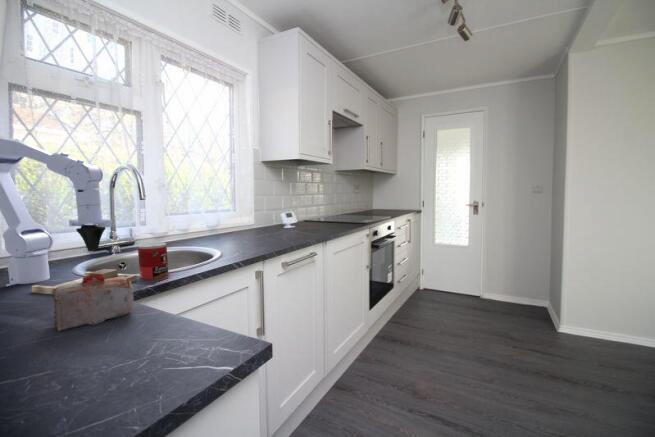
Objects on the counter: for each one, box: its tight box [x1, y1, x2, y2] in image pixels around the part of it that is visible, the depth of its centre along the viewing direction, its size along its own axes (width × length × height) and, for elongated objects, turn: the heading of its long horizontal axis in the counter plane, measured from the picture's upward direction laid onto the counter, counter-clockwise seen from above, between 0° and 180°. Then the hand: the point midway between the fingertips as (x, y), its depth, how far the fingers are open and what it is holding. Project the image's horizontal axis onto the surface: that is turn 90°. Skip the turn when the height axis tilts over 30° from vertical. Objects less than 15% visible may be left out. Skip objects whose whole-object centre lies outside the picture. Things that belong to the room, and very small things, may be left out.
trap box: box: [31, 271, 138, 295], centre depth 89 cm, size 19×15×3 cm
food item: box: [52, 275, 135, 332], centre depth 68 cm, size 14×8×10 cm, turn 133°
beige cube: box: [89, 268, 119, 279], centre depth 87 cm, size 4×4×4 cm
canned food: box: [137, 241, 169, 283], centre depth 98 cm, size 8×8×11 cm
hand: (93, 250), depth 95 cm, fingers closed
